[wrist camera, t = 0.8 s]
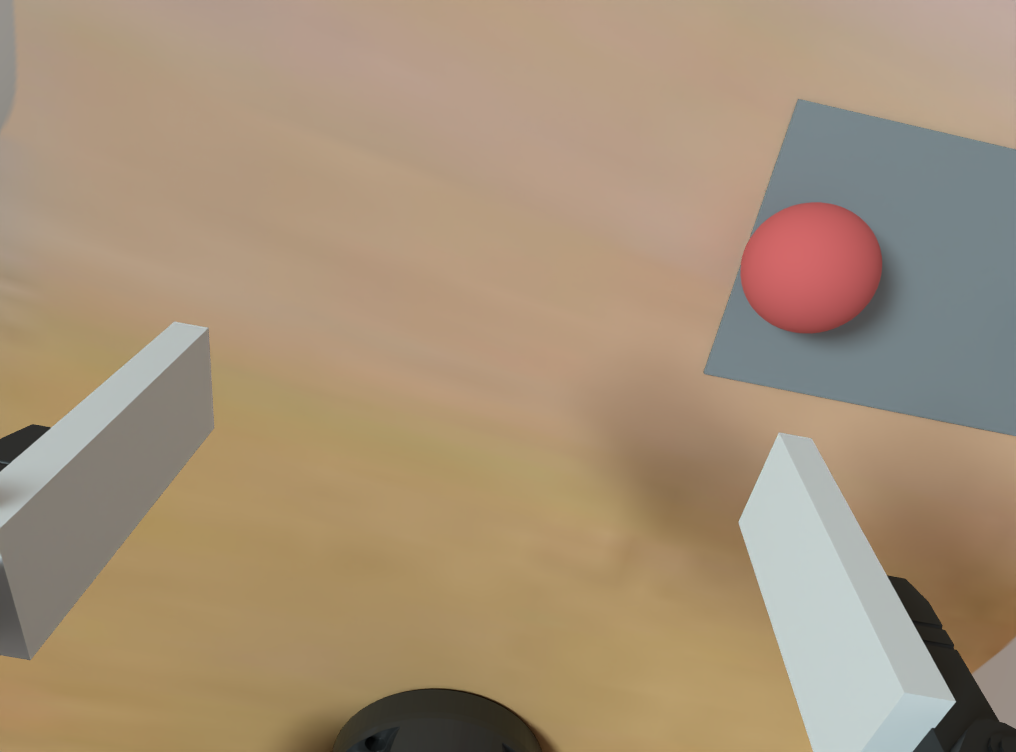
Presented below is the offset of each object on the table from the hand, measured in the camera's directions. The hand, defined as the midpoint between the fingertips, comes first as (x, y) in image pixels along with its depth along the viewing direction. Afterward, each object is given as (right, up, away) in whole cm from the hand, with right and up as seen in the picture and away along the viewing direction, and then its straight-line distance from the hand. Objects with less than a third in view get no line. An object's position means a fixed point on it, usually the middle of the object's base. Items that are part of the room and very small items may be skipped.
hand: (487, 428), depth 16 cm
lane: (+25, +5, +19) cm, 32 cm away
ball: (+14, +6, +16) cm, 22 cm away
